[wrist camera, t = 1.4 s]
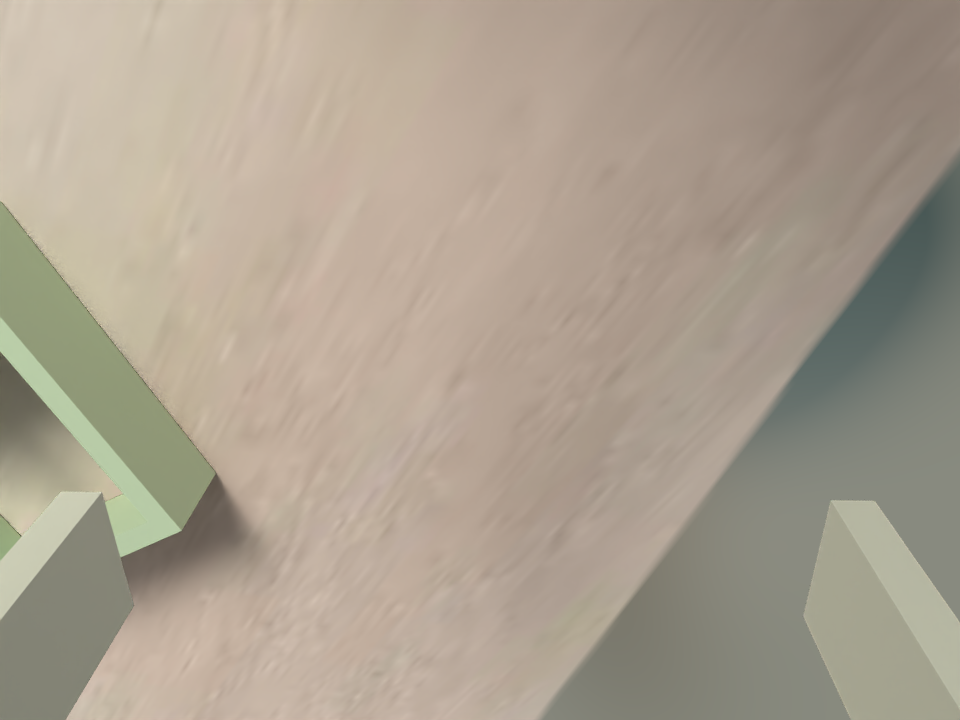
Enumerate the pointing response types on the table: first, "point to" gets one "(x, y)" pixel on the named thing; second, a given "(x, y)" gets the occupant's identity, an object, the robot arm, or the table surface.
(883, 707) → the robot arm
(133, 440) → the pale green open box
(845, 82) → the table surface
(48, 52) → the table surface
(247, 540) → the table surface
